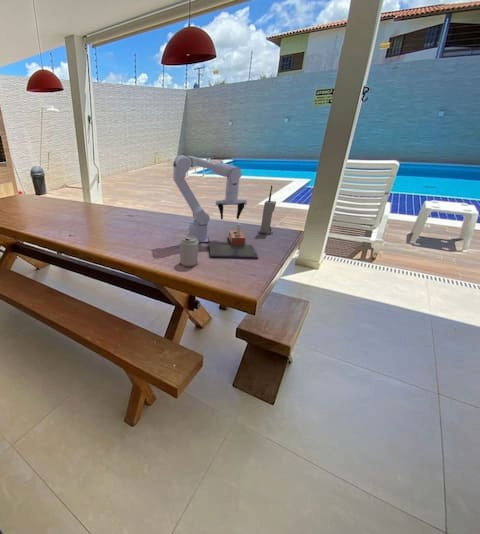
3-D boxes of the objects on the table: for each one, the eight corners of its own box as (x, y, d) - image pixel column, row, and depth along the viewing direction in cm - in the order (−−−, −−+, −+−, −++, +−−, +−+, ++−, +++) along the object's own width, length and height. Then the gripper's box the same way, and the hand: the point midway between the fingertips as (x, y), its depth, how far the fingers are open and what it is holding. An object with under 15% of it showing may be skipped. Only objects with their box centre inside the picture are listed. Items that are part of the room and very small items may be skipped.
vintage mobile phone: (270, 234, 162) (278, 186, 151) (260, 233, 164) (267, 185, 153) (271, 232, 164) (279, 184, 154) (261, 231, 167) (268, 184, 156)
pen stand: (231, 245, 151) (232, 237, 149) (228, 237, 160) (229, 230, 159) (244, 245, 150) (245, 237, 148) (240, 238, 159) (241, 230, 158)
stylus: (235, 243, 153) (237, 224, 148) (235, 242, 154) (237, 223, 150) (238, 243, 152) (241, 224, 148) (238, 242, 154) (240, 223, 150)
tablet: (210, 257, 139) (210, 255, 139) (208, 246, 152) (208, 244, 151) (257, 258, 136) (257, 256, 135) (251, 247, 148) (251, 244, 147)
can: (177, 260, 138) (178, 235, 133) (194, 259, 139) (195, 234, 133) (182, 267, 132) (183, 241, 126) (199, 266, 132) (201, 240, 127)
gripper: (217, 194, 148) (215, 221, 154) (249, 193, 145) (246, 220, 151) (215, 191, 154) (214, 217, 160) (246, 190, 151) (243, 216, 157)
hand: (229, 218), depth 156 cm, fingers open, 7 cm apart
